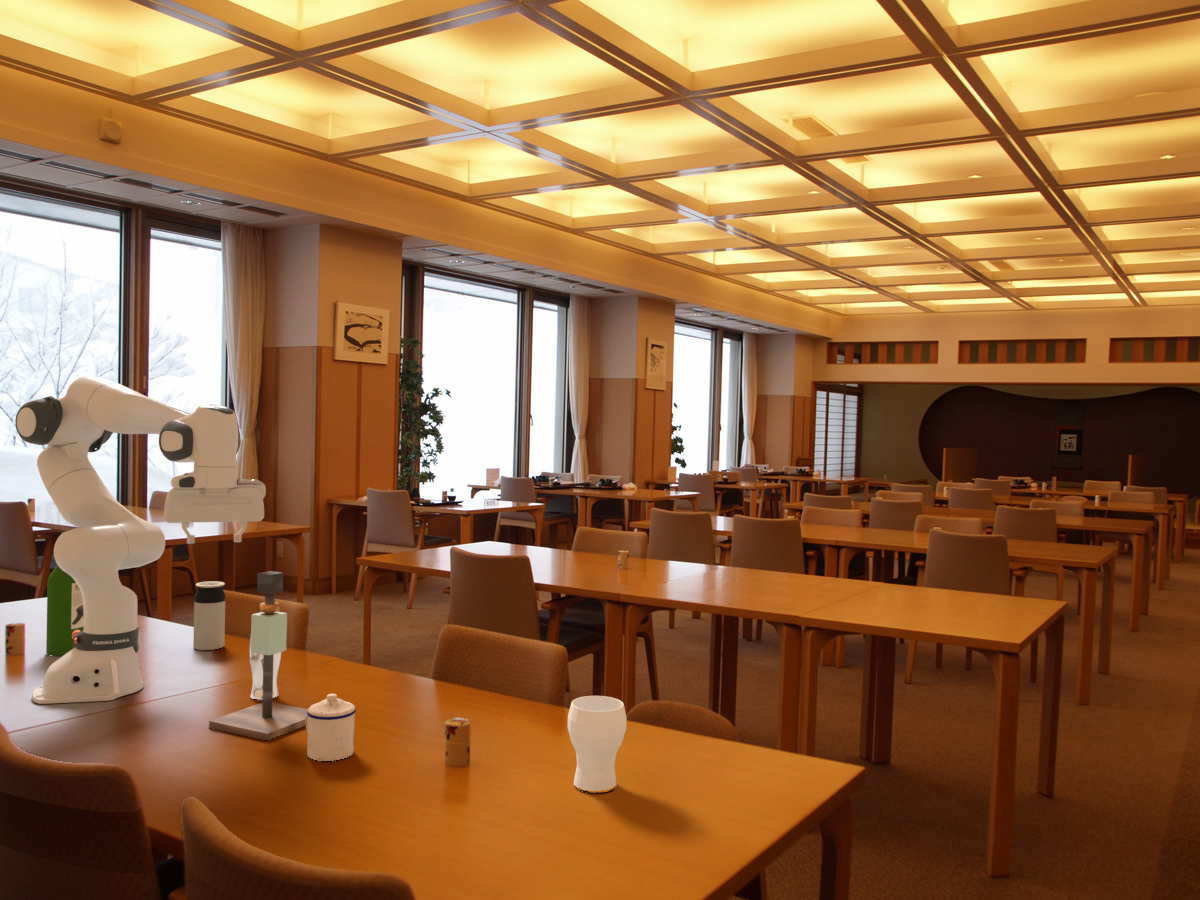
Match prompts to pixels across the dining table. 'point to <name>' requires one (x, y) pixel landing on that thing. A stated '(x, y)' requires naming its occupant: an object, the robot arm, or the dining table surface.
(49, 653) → the wine bottle
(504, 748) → the dining table surface
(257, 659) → the beer glass
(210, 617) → the travel mug
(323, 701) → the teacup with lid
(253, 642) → the marker sleeve
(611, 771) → the cup
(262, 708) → the post stand
